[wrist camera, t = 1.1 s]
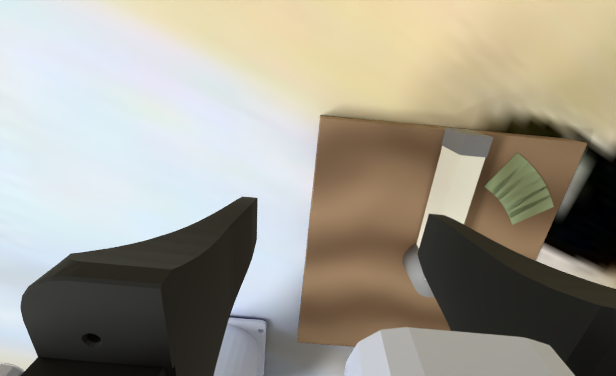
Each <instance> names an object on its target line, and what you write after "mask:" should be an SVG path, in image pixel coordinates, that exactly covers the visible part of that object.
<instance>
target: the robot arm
mask: <svg viewBox="0 0 616 376" xmlns="http://www.w3.org/2000/svg"><path fill="white" fill-rule="evenodd" d="M256 240H257V198H252V197H241V198H239V199H237V200H236V201H234V202H232V203H231V204H229V205H228V206H226V207H224V208H223V209H221V210H219V211H217V212H216V213H214V214H212V215H210V216H208V217H206V218H204V219H202V220H200V221H199V222H196V223H194V224H192V225H190V226H188V227H185V228H183V229H180V230H177V231H175V232H172V233H169V234H166V235H162V236H159V237H156V238H153V239H150V240H146V241H142V242H138V243H134V244H129V245H124V246H119V247H114V248H109V249H102V250H95V251H88V252H81V253H73V254H70V255H69V256H67V257H66V258H65V259H64V260H62V261H61V262H60V263H58V264H57V265H56V266H55V267H53V268H52V269H51V270H49V271H48V272H47V273H45V274H44V275H43V276H42V277H40V278H39V279H38V280H36V281H35V282H34V283H33V284H31V285H30V286H29V287H28V288H27V289H26V291H25V292H24V294H23V295H22V301H21V312H22V317H23V321H24V323H25V326H26V328H27V331H28V333H29V336H30V338H31V341H32V343H33V346H34V348H35V350H36V353H37V355H38V358H37V359H36V360H35V361H34V362H33V363H32V364H31V365H30V366H29V367H28V369H27V370H26V371H25V372H24V370H23V369H21V368H19V367H18V366H16V365H12V364H8V363H0V376H264V364H265V345H266V325H267V324H266V322H265V321H263V320H255V319H242V318H229V317H230V313H231V310H232V308H233V305H234V302H235V300H236V297H237V295H238V292H239V290H240V287H241V285H242V282H243V280H244V277H245V275H246V273H247V270H248V267H249V265H250V262H251V260H252V256H253V252H254V248H255V244H256ZM417 255H418V258H419V261H420V265H421V268H422V271H423V274H424V276H425V278H426V280H427V283H428V285H429V287H430V289H431V291H432V293H433V295H434V297H435V299H436V301H437V303H438V305H439V307H440V309H441V311H442V313H443V315H444V317H445V319H446V321H447V323H448V325H449V328H450V330H451V331H446V330H434V329H423V328H411V327H401V328H391V329H382V330H379V331H377V332H375V333H374V334H372V335H370V336H368V337H366V338H364V339H363V340H361V341H359V342H358V343H357V344H356V346H355V348H354V349H353V351H352V353H351V354H350V356H349V357H348V359H347V362H346V367H345V372H344V376H616V289H613V288H610V287H606V286H603V285H600V284H597V283H594V282H591V281H588V280H585V279H582V278H579V277H576V276H573V275H570V274H568V273H565V272H562V271H559V270H557V269H554V268H552V267H549V266H547V265H544V264H542V263H540V262H537V261H535V260H533V259H530V258H528V257H526V256H523V255H521V254H519V253H517V252H515V251H513V250H511V249H509V248H507V247H505V246H503V245H501V244H499V243H497V242H495V241H493V240H491V239H489V238H488V237H486V236H484V235H482V234H480V233H478V232H477V231H475V230H473V229H471V228H469V227H468V226H466V225H464V224H462V223H460V222H458V221H456V220H454V219H452V218H450V217H448V216H445V215H439V214H429V215H428V219H427V222H426V226H425V229H424V233H423V236H422V240H421V243H420V247H419V250H418V254H417ZM260 329H262V330H260Z"/></svg>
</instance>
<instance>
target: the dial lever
mask: <svg viewBox="0 0 616 376" xmlns="http://www.w3.org/2000/svg"><path fill="white" fill-rule="evenodd" d="M492 140H493V137H491V136H488V135H485V134H482V133H479V132H476V131H473V130H470V129H460V128H449V127H446V129H445V133H444V137H443V141H442V149H441V153H440V157H439V160H438V164H437V168H436V172H435V176H434V179H433V183H432V187H431V191H430V195H429V198H428V202H427V206H426V210H425V214H424V217H423V221H422V225H421V229H420V233H419V236H418V240H417V244H416V245H414V246H412V247H411V248H409V249H408V250H407V251H406V253H405V254H404V257H403V266H404V268H405V270H406V272H407V274H408V276H409V278H410V280H411V282H412V284H413V286H414V288H415V290H416V291H417V292H418V293H419V294H420V295H422V296H425V297H430V298H434V295H433V293H432V291H431V289H430V287H429V285H428V283H427V280H426V278H425V276H424V274H423V271H422V268H421V265H420V261H419V258H418V255H417V254H418V250H419V247H420V243H421V240H422V236H423V233H424V229H425V226H426V222H427V219H428V215H429V214H439V215H445V216H448V217H450V218H452V219H454V220H456V221H458V222H460V223H462V224H464V222H465V219H466V216H467V213H468V210H469V207H470V204H471V201H472V198H473V195H474V191H475V188H476V185H477V182H478V179H479V176H480V173H481V170H482V167H483V164H484V160H485V157H486V158H487V156H488V152H489V149H490V146H491V143H492Z"/></svg>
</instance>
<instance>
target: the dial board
mask: <svg viewBox="0 0 616 376" xmlns="http://www.w3.org/2000/svg"><path fill="white" fill-rule="evenodd" d="M449 128H450V127H449ZM445 129H446V127H439V126H429V125H418V124H408V123H397V122H386V121H376V120H365V119H355V118H344V117H334V116H323V115H320V124H319V134H318V143H317V153H316V162H315V172H314V181H313V191H312V201H311V210H310V220H309V229H308V239H307V249H306V258H305V268H304V277H303V287H302V296H301V306H300V316H299V325H298V341H297V342H300V343H313V344H327V345H340V346H353V347H355V346H356V344H357V343H358V342H359V341H361V340H363V339H364V338H366V337H368V336H370V335H372V334H374V333H375V332H377V331H379V330H382V329H391V328H401V327H411V328H423V329H434V330H446V331H451V330H450V328H449V325H448V323H447V321H446V319H445V317H444V315H443V313H442V311H441V309H440V307H439V305H438V303H437V301H436V299H435V297H434V298H430V297H425V296H422V295H420V294H419V293H418V292H417V291H416V290H415V288H414V286H413V284H412V282H411V280H410V278H409V276H408V274H407V272H406V270H405V268H404V266H403V257H404V254H405V253H406V251H407V250H408V249H409V248H411V247H412V246H414V245H416V244H417V240H418V236H419V233H420V229H421V225H422V221H423V217H424V214H425V210H426V206H427V202H428V198H429V195H430V191H431V187H432V183H433V179H434V176H435V172H436V168H437V164H438V160H439V157H440V153H441V149H442V141H443V137H444V133H445ZM470 130H471V129H470ZM473 131H476V132H479V133H482V134H485V135H488V136H491V137H493V140H492V143H491V146H490V149H489V152H488V156H487V158H486V157H485V160H484V164H483V167H482V170H481V173H480V176H479V179H478V182H477V185H476V188H475V191H474V195H473V198H472V201H471V204H470V207H469V210H468V213H467V216H466V219H465V222H464V225H466V226H468V227H469V228H471V229H473V230H475V231H477V232H478V233H480V234H482V235H484V236H486V237H488V238H489V239H491V240H493V241H495V242H497V243H499V244H501V245H503V246H505V247H507V248H509V249H511V250H513V251H515V252H517V253H519V254H521V255H523V256H526V257H528V258H530V259H533V260H536V258H537V256H538V253H539V251H540V249H541V247H542V245H543V242H544V240H545V238H546V236H547V233H548V231H549V229H550V227H551V224H552V222H553V220H554V218H555V215H556V213H557V211H558V209H559V206H560V204H561V202H562V200H563V197H564V195H565V193H566V191H567V188H568V186H569V184H570V182H571V180H572V177H573V175H574V173H575V171H576V168H577V166H578V164H579V162H580V159H581V157H582V155H583V153H584V150H585V148H586V146H587V144H588V143H584V142H580V141H576V140H572V139H566V138H555V137H545V136H534V135H524V134H513V133H503V132H492V131H481V130H473Z"/></svg>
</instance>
